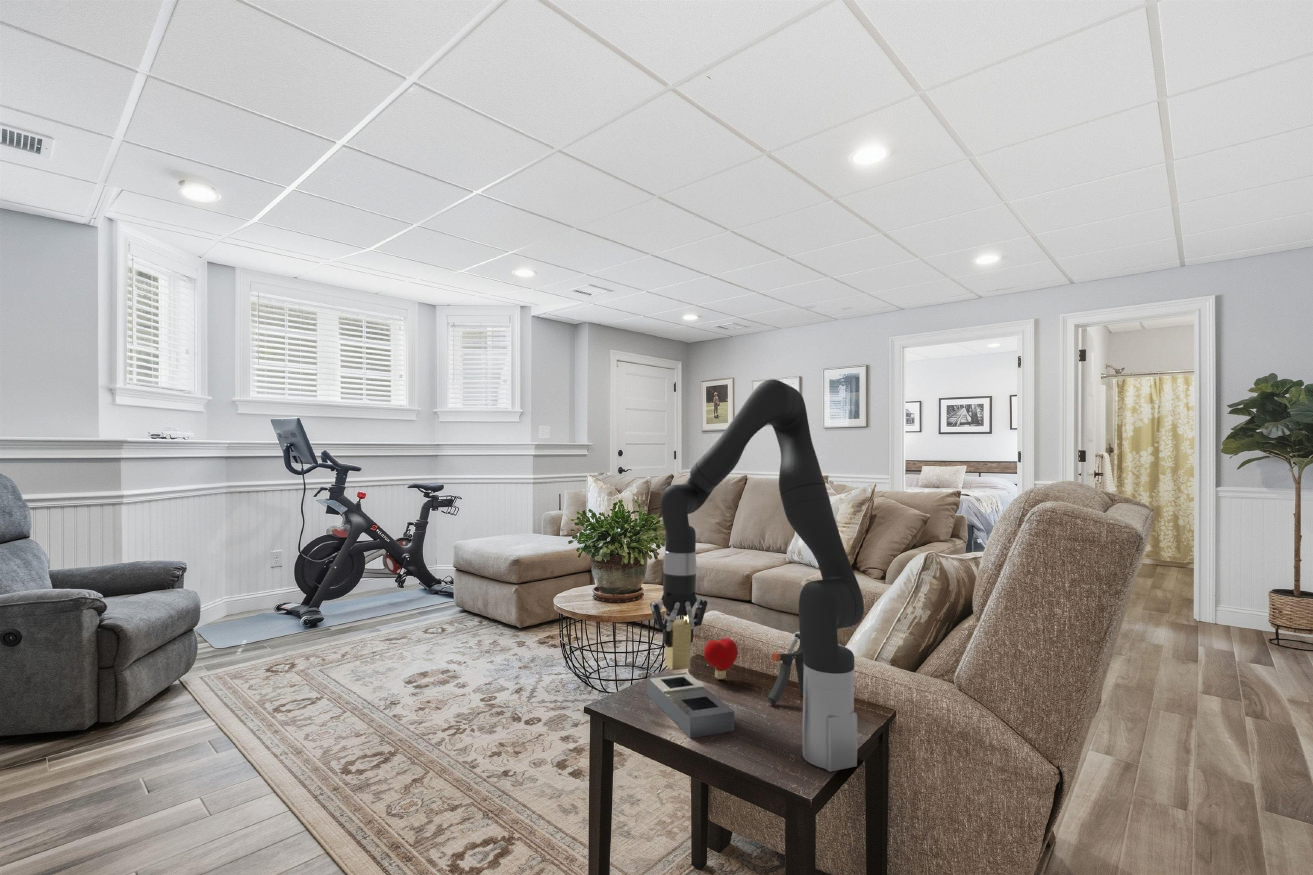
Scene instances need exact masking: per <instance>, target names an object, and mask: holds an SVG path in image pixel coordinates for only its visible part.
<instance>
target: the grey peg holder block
mask: <svg viewBox="0 0 1313 875" xmlns="http://www.w3.org/2000/svg"><path fill="white" fill-rule="evenodd" d="M646 681H647V682H646V695H647V696H648V697H649V698H650V699H651V700H652V701H653V702H654V703H655V704H656V706H658V707H659V709H660V710H661V711H663V713H664V714H666V716H667V717H668V718H669V719H671V721H672V722H673V723H674V724H676V726H677V727H678V728H679V729H680V730H681V731H682V732H683V733H684V734H685V735H686V736H687V737H688V738H689V739H693V738H700V737H706V736H707V737H708V736H712V735H718V734H719V735H720V734H725V733H730V732H735V714H736V712H735V710H734V709H733V708H731V707H730V706H729V705H727V704H726V703H725V702H724V701H722V700H721V699H720V698H719V697H717V696H716V695H715V694H713V692H711V691H709V689H707V688H706V686H705V685H704V684H703V683H702V682H700V681H699V680H698V679H696V678H695V677H694V676H693V675H691V674H690V673H688V672H680V673H670V674H662V675H654V676H647V678H646Z"/></svg>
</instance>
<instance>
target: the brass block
mask: <svg viewBox="0 0 1313 875" xmlns="http://www.w3.org/2000/svg"><path fill="white" fill-rule="evenodd" d="M670 631H671V647H669V648H668V647H667V646H665V645H664V646H665V649H664V665H666V666H667V667H668V668H669V669H670V670H671V671H679V670H689V669H691V651H692V650H691V646H692V643H691V624H690V623H688V622H687V621H685V620H684V618H682V619H675V621H674V622H673V625H672V628H671V630H670Z"/></svg>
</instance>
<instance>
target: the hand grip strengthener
mask: <svg viewBox="0 0 1313 875" xmlns="http://www.w3.org/2000/svg"><path fill="white" fill-rule="evenodd" d="M799 641H800V633H797V632H796V633H794V638H793V639H792V641H791V643H790V645H789V647H788V648H787V650H788V651H787V653H777V652H775V653H772V655H771V659H772V661H773V662H780V661H782V662H781V663H780V668H779V669H780V670H779V672H778V676H777V678H776V680H775V683H774V685H773V687H772V689H771V691H770V692H769V694H768V695H767V699H766V701H768V703H770V704H771V705H773V706H775V705H776V704H778V702H779V701H780V699H781V698H782V696H783V694H784V692H785V689H786V688H787V686H788V682H789V680H790V676H791V672H792V665H793V660H794V665H795V670H796V674H797V683H798V691H799V694H800V695H801V696H800V695H799V696H800V697H802V696H803V673H804V655H803V652H802V649H801V645H800V644H799V645H798V648H797V649H796V650H795V651H794V652H793V650H794V649H795V647H796V645H797V644H798V642H799Z"/></svg>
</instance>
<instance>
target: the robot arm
mask: <svg viewBox="0 0 1313 875" xmlns="http://www.w3.org/2000/svg"><path fill="white" fill-rule="evenodd" d="M806 406H807V405H806V403H805V399H804V397H803V396H802V394H801V393H800V391H798V389H796V388H795V387H793V386H791V385H789V384H787V383H785V382H784V381H782V380H778V379H767V380H764V381H762V382H760V384H758V386H757V387H755V388H754V390H753V391H752V392H751V394H750V395H749V396H748V398H747V399H746V401H745V402H744V404H743V405H742V407H741V408H740V409H739V411H738V413H737V414H736V415H735V416H734V418H733V419H732V420H731V422H730V423H729V425H728V426H727V427H726V428H725V430H724V432H723V433H722V434H721V436H720V437H719V438H718V439H717V440H716V441H715V443H714V444H713V445H712V446H711V447H710V448H709V449H708V450H707V451H706V452H705V453H704V454H703V455H702V456H701V457H700V458H699V459H698V460H697V461H696V463H694V464H693V466H692V467H691V468H690V471H689V475H690V476H689V477H688V479H687V480H686V481H685V482H684V483H682V484H681V483H680V484H671V485H668V486H667V487H666V488H665V489H664V490H663V492H662V495H661V498H660V512H661V518H662V521H663V526H664V530H665V531H664V532H665V543H664V544H665V547H664V548H665V549H664V550H665V551H664V558H663V566H662V569H663V578H662V579H663V582H662V583H663V584H662V593H663V594H662V597H661V599H660V600H658V601H651V602H650V604H649V605H650V609H651V613H652V617H653V620H654V625H655V627H657V628H658V629H659V630H662V643H663V644H664V646H667V647H668V648H669V647H671V631H670V630H671V628H672V625H673V622H674V621H675V620H676V618H677V617H679V616H682V617H683V619H684V620H685V621H687V622H688V623H690V624H691V644H692V643H693V642H694V630H695V628H696V627H700V626H702V623H703V620H704V618H705V617H704V616H705V613H706V610H707V607H708V600H705V599H704V598H698V597H697V595H696V591H697V590H696V587H697V555H696V553H697V552H696V549H697V548H696V547H697V544H696V543H697V541H696V540H697V539H696V538H697V537H696V536H697V534H696V529H695V528H694V527H693V526H691V525H690V523H689V515H690V514H692V513H695V512H697V511H698V510H699V509H701V507H702V506H703V505H704V504H705V502H706V501H707V500H708V498H709V497H710V495H711V494H712V492H713V491H714V489H715V488H716V487H717V486H718V485H719V484H721V483H722V481H723V480H725V479H726V477H728V475H730V474H731V472H732V471H733V470H734V469H735V467H736V466H737V465H738V463H739V462H740V460H741V458H742V455H743V452H744V451H745V448H746V447H747V445H748V443H749V442H750V441H751V439H752V438H753V437H754V436H755V435H756V434H757V433H758V432H759V431H760V430H762V429H763V428H764V427H766V426H767V425H771V427H772V428H773V431H774V435H775V437H776V440H777V444H778V446H779V451H780V466H779V476H778V491H779V495H780V499H781V503H782V507H783V510H784V514H785V516H786V517H785V518H786V519H787V521H788V523H789V524H790V526H791V527H792V529H793V530H794V531H795V533H796V534H797V535H798V537H799V538H800V539H801V540H802V542H803V543H804V544H805V545H806V546H807V548H808V549H809V550H810V551H811V553H812V554H813V557H814V559H815V561H816V563H817V565H818V568H819V572H820V575H821V579H818V580H811V581H808V582H807V583H805V584H804V585H803V587H802V588H801V591H800V592H799V599H798V622H799V623H798V626H799V628H798V629H799V634H800V640H799V645H801V649H802V652H803V655H804V673H803V697H802V757H803V759H804V760H805V761H806V762H808V763H809V764H811V765H813V766H815V767H818V768H821V769H824V770H827V771H828V772H830V773H831V772H836V771H840V770H844V769H845V770H846V769H850V768H855V767H857V766H858V714H857V713H856V712H854V711H855V709H854V708H855V656H854V652H853V650H850V649H849V648H848V647H845V646H842V645H840V644H839V640H838V630H839V629H844V628H845V629H846V628H851V627H854V626H856V625H858V624H859V623H860V622H861V621H862V619H863V617H864V613H865V602H864V598H863V593H862V591H861V590H862V589H861V588H860V584H859V581H858V580H857V577H856V574H855V572H854V570H853V567H852V565H851V562H850V559H849V557H848V555H847V552H846V550H845V549H846V548H845V546H844V543H843V540H842V538H841V534H840V532H839V528H838V524H837V521H836V518H835V514H834V511H833V507H832V503H831V499H830V496H829V493H828V489H827V486H826V482H825V480H824V475H823V473H822V471H821V470H822V469H821V466H820V463H819V459H818V456H817V454H816V451H815V447H814V444H813V440H812V436H811V431H810V423H809V419H808V413H807V407H806ZM694 606H695V607H696V608H695V611H694V614H693V611H692V610H693V608H694ZM663 607H664V608H665V613H664V616H663V617H664V619H663V617H662V614H661V611H662V610H663Z"/></svg>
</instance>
